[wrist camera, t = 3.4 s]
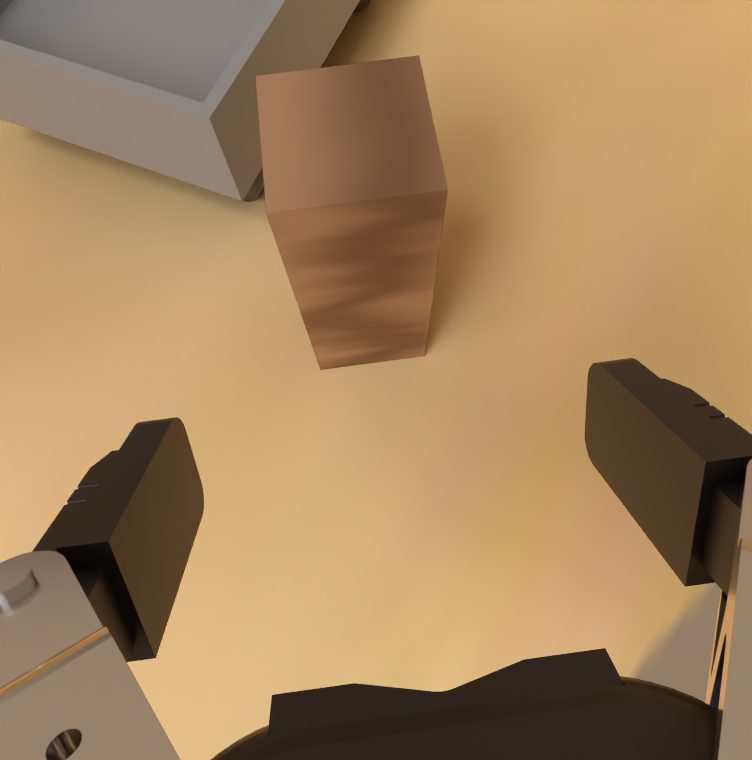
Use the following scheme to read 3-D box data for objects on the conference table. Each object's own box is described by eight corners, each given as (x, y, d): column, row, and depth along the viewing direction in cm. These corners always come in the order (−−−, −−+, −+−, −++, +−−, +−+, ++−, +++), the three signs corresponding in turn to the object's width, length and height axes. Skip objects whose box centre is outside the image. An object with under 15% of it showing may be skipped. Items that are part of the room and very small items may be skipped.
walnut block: (320, 369, 27) (266, 213, 15) (311, 277, 28) (255, 75, 17) (425, 355, 27) (447, 189, 15) (409, 264, 28) (419, 55, 17)
